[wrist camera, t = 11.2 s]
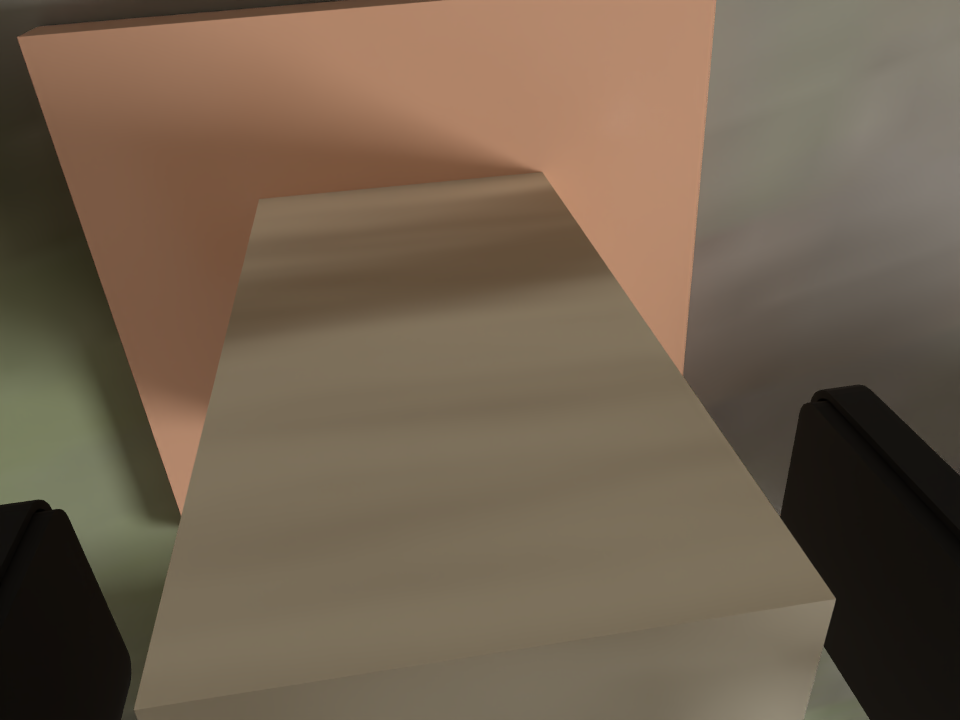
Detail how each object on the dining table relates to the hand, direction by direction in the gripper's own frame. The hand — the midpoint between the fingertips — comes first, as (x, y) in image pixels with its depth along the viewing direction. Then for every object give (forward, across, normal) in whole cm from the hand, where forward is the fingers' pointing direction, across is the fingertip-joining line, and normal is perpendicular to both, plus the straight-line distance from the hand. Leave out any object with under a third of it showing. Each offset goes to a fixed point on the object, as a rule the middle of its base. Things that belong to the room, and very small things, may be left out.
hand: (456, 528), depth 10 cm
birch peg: (+6, 0, 0) cm, 6 cm away
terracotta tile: (+7, 0, 0) cm, 7 cm away
